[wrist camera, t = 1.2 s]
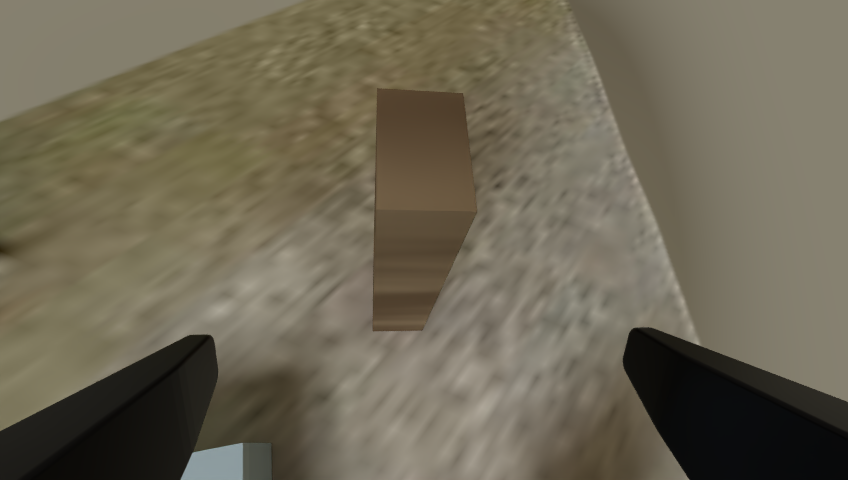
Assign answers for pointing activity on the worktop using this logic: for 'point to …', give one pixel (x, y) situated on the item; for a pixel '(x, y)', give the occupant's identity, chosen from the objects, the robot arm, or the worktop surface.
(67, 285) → the worktop surface
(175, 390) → the robot arm
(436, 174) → the wooden block
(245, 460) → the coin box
